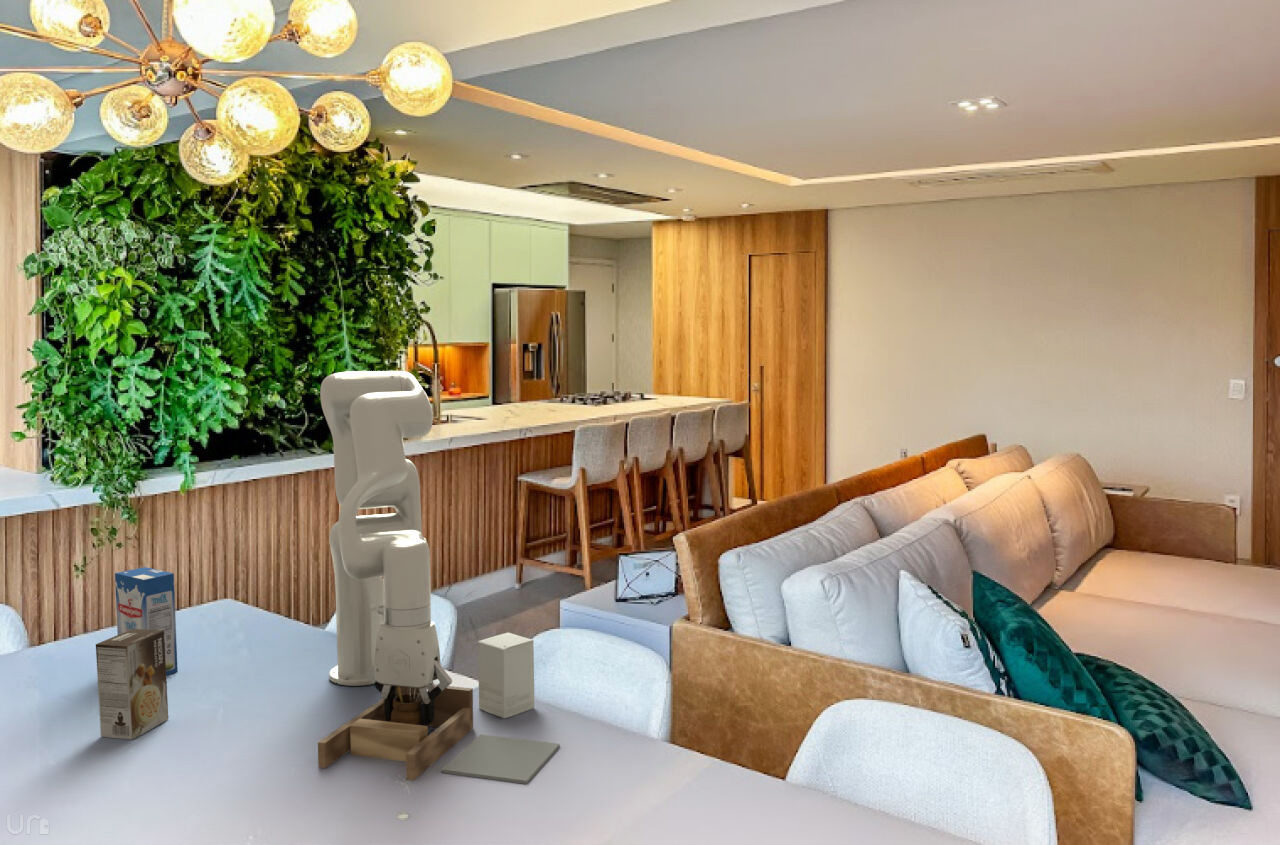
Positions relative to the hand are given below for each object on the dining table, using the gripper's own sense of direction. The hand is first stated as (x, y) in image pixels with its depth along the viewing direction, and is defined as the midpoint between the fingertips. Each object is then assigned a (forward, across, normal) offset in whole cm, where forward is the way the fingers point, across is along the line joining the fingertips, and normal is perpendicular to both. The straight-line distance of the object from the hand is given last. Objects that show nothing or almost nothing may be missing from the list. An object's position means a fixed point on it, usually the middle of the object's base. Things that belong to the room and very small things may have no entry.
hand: (409, 721), depth 164 cm
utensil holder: (+3, 0, 0) cm, 3 cm away
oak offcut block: (+3, 0, -6) cm, 7 cm away
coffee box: (+3, -47, -9) cm, 48 cm away
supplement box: (+3, +10, +17) cm, 20 cm away
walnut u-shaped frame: (+3, 0, -4) cm, 5 cm away
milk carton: (+3, -66, +15) cm, 68 cm away
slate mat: (+3, +18, -3) cm, 18 cm away
